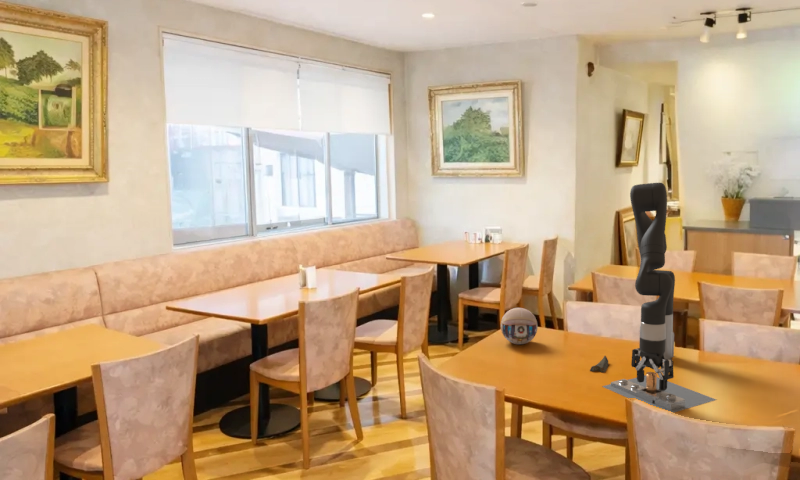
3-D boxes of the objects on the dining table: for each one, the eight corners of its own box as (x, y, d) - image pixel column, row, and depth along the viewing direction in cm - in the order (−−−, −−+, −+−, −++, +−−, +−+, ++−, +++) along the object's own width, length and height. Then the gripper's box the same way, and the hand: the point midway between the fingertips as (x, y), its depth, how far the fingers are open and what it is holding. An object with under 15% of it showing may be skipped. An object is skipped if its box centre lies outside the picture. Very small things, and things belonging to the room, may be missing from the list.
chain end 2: (649, 392, 197) (650, 382, 197) (684, 407, 185) (685, 396, 185) (636, 396, 195) (636, 386, 194) (670, 411, 183) (671, 400, 182)
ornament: (493, 344, 254) (492, 308, 252) (515, 336, 264) (515, 302, 262) (523, 351, 243) (523, 314, 241) (544, 343, 253) (544, 307, 251)
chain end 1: (624, 382, 207) (624, 377, 207) (666, 399, 192) (666, 394, 191) (610, 385, 204) (610, 380, 204) (652, 403, 189) (652, 397, 189)
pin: (650, 395, 195) (651, 371, 194) (658, 398, 192) (658, 374, 191) (643, 397, 194) (644, 373, 193) (651, 400, 191) (652, 375, 190)
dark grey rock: (603, 375, 215) (603, 365, 215) (589, 373, 219) (589, 363, 218) (616, 365, 225) (616, 356, 225) (603, 363, 228) (602, 354, 228)
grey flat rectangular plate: (649, 375, 213) (649, 374, 213) (716, 400, 190) (716, 399, 190) (601, 387, 204) (601, 386, 204) (666, 415, 181) (666, 414, 181)
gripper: (680, 340, 186) (678, 391, 188) (643, 328, 198) (642, 376, 201) (662, 344, 182) (661, 396, 185) (626, 332, 195) (625, 381, 197)
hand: (651, 386), depth 193 cm, fingers open, 8 cm apart
